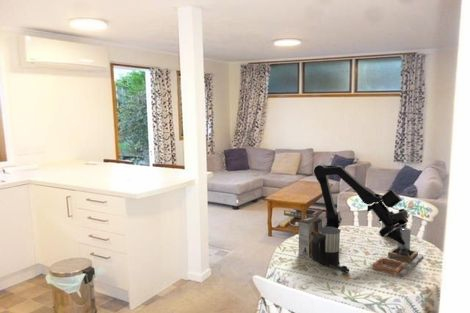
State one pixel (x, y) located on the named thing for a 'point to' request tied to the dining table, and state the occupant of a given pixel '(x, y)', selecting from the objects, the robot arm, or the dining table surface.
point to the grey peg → (405, 236)
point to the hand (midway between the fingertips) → (406, 242)
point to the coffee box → (308, 234)
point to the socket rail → (401, 268)
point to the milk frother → (327, 248)
